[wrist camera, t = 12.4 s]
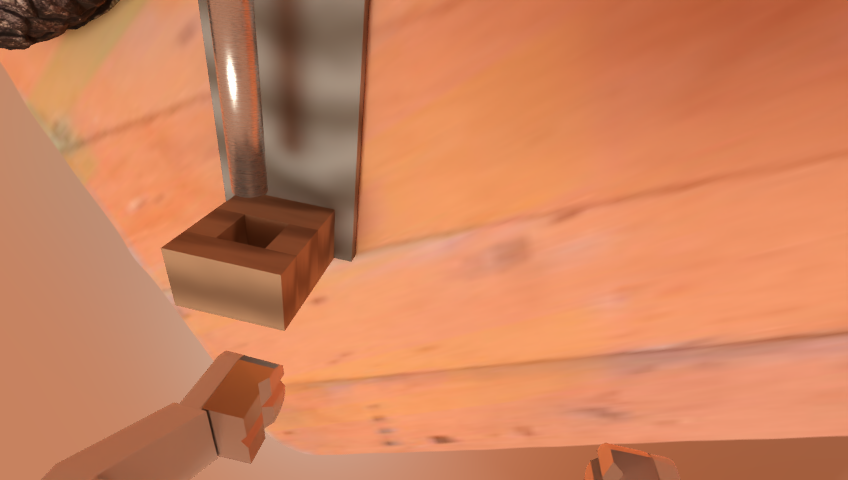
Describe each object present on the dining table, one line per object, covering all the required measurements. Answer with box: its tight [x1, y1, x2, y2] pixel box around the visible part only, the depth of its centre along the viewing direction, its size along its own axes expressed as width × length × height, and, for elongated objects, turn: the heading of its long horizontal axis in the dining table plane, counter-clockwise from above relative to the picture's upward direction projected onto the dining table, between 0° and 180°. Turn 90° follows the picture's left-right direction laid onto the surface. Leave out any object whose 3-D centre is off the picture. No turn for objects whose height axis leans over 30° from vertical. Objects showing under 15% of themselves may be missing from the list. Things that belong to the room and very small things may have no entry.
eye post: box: [161, 0, 369, 331], centre depth 31 cm, size 32×14×13 cm, turn 172°
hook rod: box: [207, 0, 268, 198], centre depth 29 cm, size 21×3×7 cm, turn 172°
